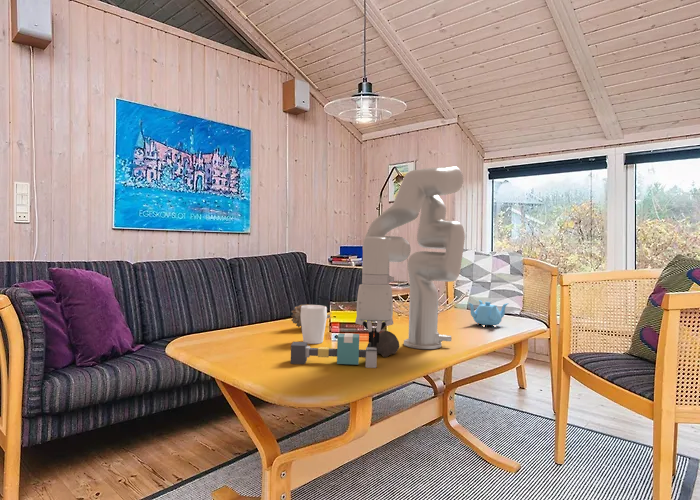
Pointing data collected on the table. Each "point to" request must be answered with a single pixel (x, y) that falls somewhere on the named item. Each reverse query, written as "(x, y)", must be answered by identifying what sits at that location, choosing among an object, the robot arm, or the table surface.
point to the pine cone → (297, 313)
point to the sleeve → (348, 348)
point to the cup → (313, 323)
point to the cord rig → (327, 353)
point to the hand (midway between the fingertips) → (373, 345)
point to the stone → (386, 344)
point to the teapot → (487, 313)
